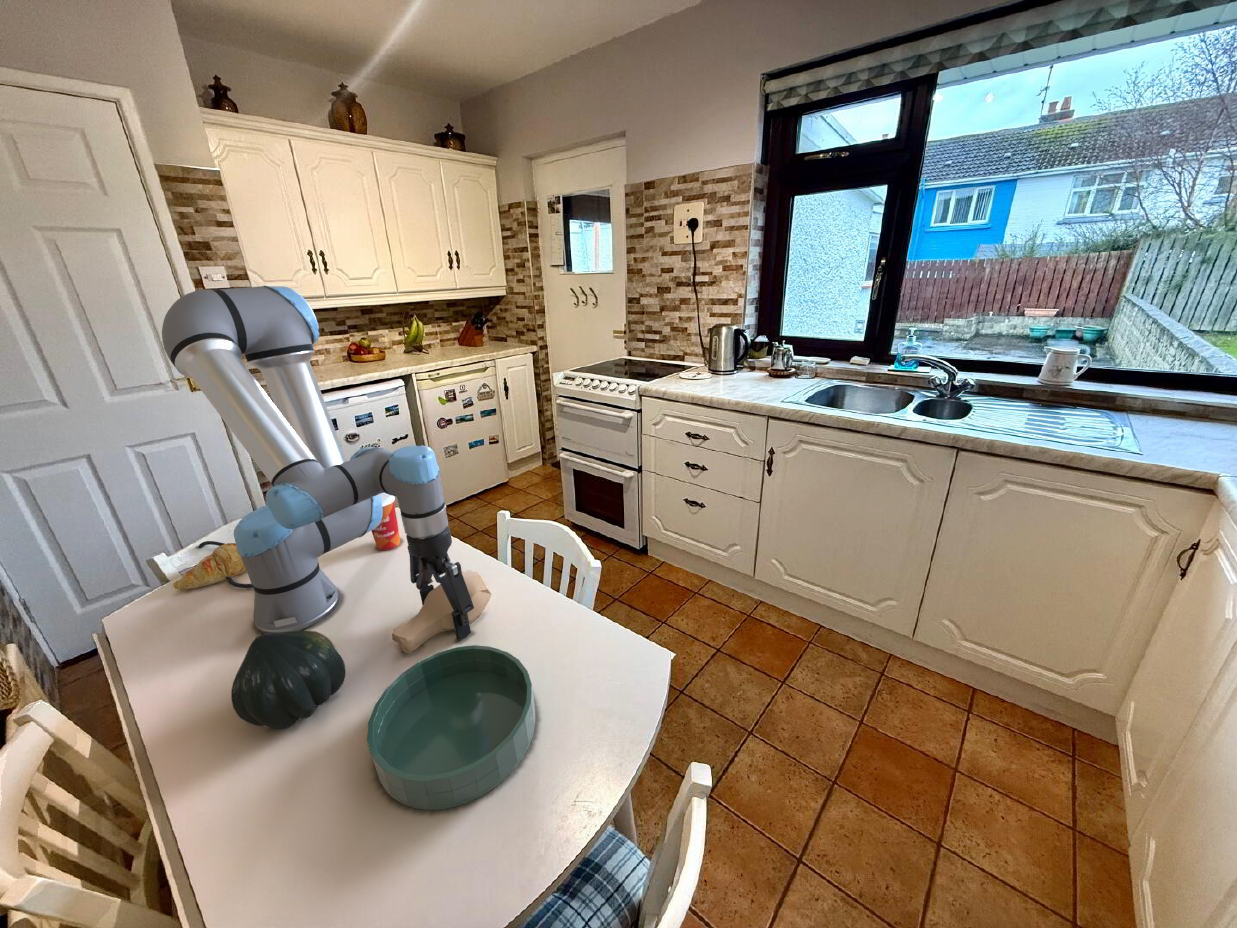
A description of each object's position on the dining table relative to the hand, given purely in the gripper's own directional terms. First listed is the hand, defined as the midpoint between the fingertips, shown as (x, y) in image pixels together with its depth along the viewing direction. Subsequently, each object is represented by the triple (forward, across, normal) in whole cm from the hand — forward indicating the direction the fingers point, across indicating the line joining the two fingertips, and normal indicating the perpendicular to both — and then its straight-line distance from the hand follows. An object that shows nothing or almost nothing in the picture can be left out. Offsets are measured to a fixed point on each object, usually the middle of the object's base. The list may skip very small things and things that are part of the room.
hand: (447, 624), depth 97 cm
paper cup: (0, +39, -9) cm, 40 cm away
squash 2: (0, 0, 0) cm, 0 cm away
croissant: (0, +60, +20) cm, 63 cm away
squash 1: (0, +4, +26) cm, 26 cm away
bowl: (0, -22, +13) cm, 26 cm away
